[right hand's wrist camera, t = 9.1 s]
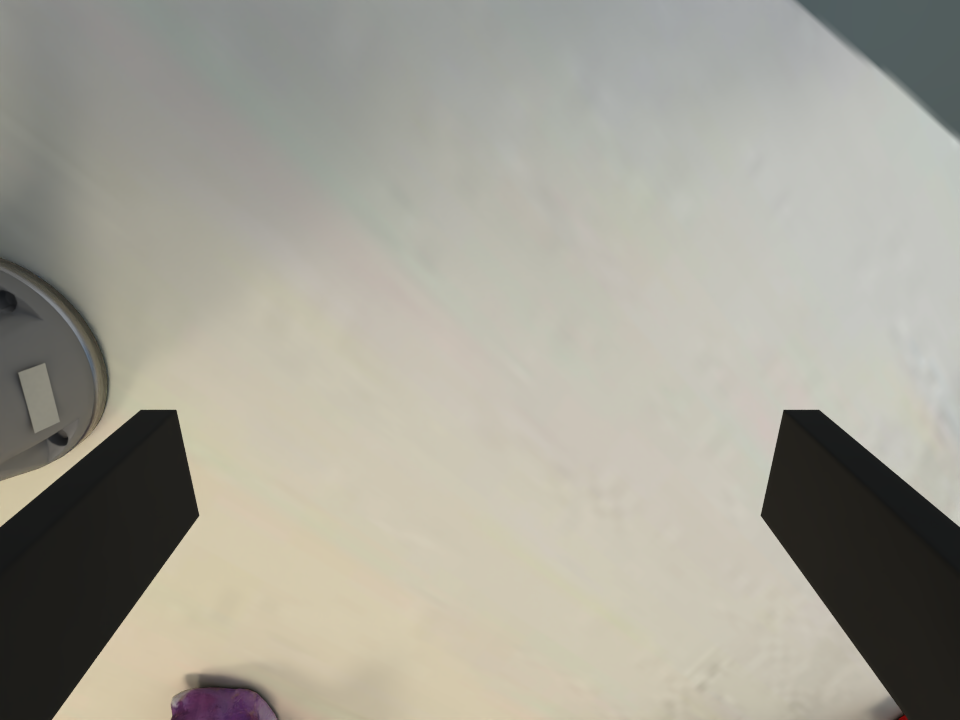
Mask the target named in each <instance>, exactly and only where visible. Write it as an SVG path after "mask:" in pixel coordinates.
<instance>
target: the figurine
mask: <svg viewBox="0 0 960 720" xmlns="http://www.w3.org/2000/svg"><path fill="white" fill-rule="evenodd" d="M171 709H172V719H171V720H277V718H276V715H275V714H274V712H273V711H272V709H271V708H270V707H269V705H268V704H267V703H266V702H265V701H264V700H263V698H261V697H260V695H258V694H257V693H256V692H253V691H251V690H250V689H240V688H239V689H229V688H216V687H210V688H193V689H189V690H186V691H183V692H180V693H179V694H177V695H175V696H174V697H173V699H172V701H171Z"/></svg>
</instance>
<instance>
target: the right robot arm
mask: <svg viewBox="0 0 960 720" xmlns="http://www.w3.org/2000/svg"><path fill="white" fill-rule="evenodd" d="M106 398H107V374H106V368H105V364H104V360H103V357H102V354H101V351H100V348H99V346H98V344H97V342H96V340H95V338H94V336H93V334H92V332H91V330H90V329H89V327H88V325H87V324H86V322H85V321H84V320H83V318H82V317H81V316H80V314H79V313H78V312H77V311H76V309H75V308H74V307H73V306H72V305H71V304H70V303H69V302H68V301H67V300H66V299H65V298H64V297H63V296H62V295H61V294H60V293H59V292H58V291H57V290H55V289H54V288H53V287H52V286H51V285H49V284H48V283H47V282H45V281H44V280H42V279H41V278H39V277H38V276H36V275H35V274H33V273H32V272H30V271H28V270H26V269H24V268H22V267H21V266H19V265H16V264H14V263H12V262H10V261H7V260H5V259H2V258H0V481H2V480H5V479H8V478H11V477H14V476H17V475H20V474H23V473H27V472H30V471H33V470H36V469H39V468H41V467H43V466H45V465H47V464H49V463H51V462H53V461H55V460H57V459H59V458H61V457H62V456H64V455H65V454H67V453H68V452H69V451H71V450H72V449H73V448H75V447H76V446H77V445H78V444H80V443H81V442H82V441H83V440H84V439H85V438H87V437H88V436H89V435H90V433H91V432H92V431H93V430H94V428H95V427H96V425H97V424H98V422H99V420H100V418H101V416H102V413H103V410H104V407H105V404H106ZM198 517H199V512H198V508H197V503H196V499H195V494H194V489H193V485H192V480H191V475H190V471H189V466H188V462H187V457H186V452H185V448H184V443H183V438H182V434H181V429H180V425H179V420H178V415H177V411H176V410H140V411H139V412H138V413H137V414H135V415H134V416H133V417H132V418H131V419H129V420H128V421H127V422H126V423H125V424H123V425H122V426H121V427H120V428H119V429H117V430H116V431H115V432H114V433H113V434H111V435H110V436H109V437H108V438H107V439H105V440H104V441H103V442H102V443H101V444H99V445H98V446H97V447H96V448H95V449H93V450H92V451H91V452H90V453H89V454H87V455H86V456H85V457H84V458H83V459H81V460H80V461H79V462H78V463H77V464H75V465H74V466H73V467H72V468H71V469H69V470H68V471H67V472H66V473H65V474H63V475H62V476H61V477H60V478H59V479H58V480H56V481H55V482H54V483H53V484H52V485H50V486H49V487H48V488H47V489H46V490H44V491H43V492H42V493H41V494H40V495H38V496H37V497H36V498H35V499H34V500H32V501H31V502H30V503H29V504H28V505H26V506H25V507H24V508H23V509H22V510H20V511H19V512H18V513H17V514H16V515H14V516H13V517H12V518H11V519H10V520H8V521H7V522H6V523H5V524H4V525H2V526H1V527H0V720H52V719H53V717H54V716H55V715H56V713H57V712H58V710H59V709H60V708H61V706H62V705H63V704H64V702H65V701H66V699H67V698H68V697H69V695H70V694H71V692H72V691H73V690H74V688H75V687H76V686H77V684H78V683H79V681H80V680H81V679H82V677H83V676H84V674H85V673H86V672H87V670H88V669H89V668H90V666H91V665H92V663H93V662H94V661H95V659H96V658H97V656H98V655H99V654H100V652H101V651H102V650H103V648H104V647H105V645H106V644H107V643H108V641H109V640H110V638H111V637H112V636H113V634H114V633H115V632H116V630H117V629H118V627H119V626H120V625H121V623H122V622H123V620H124V619H125V618H126V616H127V615H128V614H129V612H130V611H131V609H132V608H133V607H134V605H135V604H136V602H137V601H138V600H139V598H140V597H141V596H142V594H143V593H144V591H145V590H146V589H147V587H148V586H149V584H150V583H151V582H152V580H153V579H154V578H155V576H156V575H157V573H158V572H159V571H160V569H161V568H162V566H163V565H164V564H165V562H166V561H167V560H168V558H169V557H170V555H171V554H172V553H173V551H174V550H175V548H176V547H177V546H178V544H179V543H180V542H181V540H182V539H183V537H184V536H185V535H186V533H187V532H188V530H189V529H190V528H191V526H192V525H193V524H194V522H195V521H196V519H197V518H198ZM761 517H762V518H763V519H764V521H765V522H766V524H767V525H768V526H769V528H770V529H771V530H772V532H773V533H774V535H775V536H776V537H777V539H778V540H779V542H780V543H781V544H782V546H783V547H784V548H785V550H786V551H787V553H788V554H789V555H790V557H791V558H792V560H793V561H794V562H795V564H796V565H797V566H798V568H799V569H800V571H801V572H802V573H803V575H804V576H805V578H806V579H807V580H808V582H809V583H810V584H811V586H812V587H813V589H814V590H815V591H816V593H817V594H818V596H819V597H820V598H821V600H822V601H823V602H824V604H825V605H826V607H827V608H828V609H829V611H830V612H831V614H832V615H833V616H834V618H835V619H836V620H837V622H838V623H839V625H840V626H841V627H842V629H843V630H844V632H845V633H846V634H847V636H848V637H849V638H850V640H851V641H852V643H853V644H854V645H855V647H856V648H857V650H858V651H859V652H860V654H861V655H862V656H863V658H864V659H865V661H866V662H867V663H868V665H869V666H870V668H871V669H872V670H873V672H874V673H875V674H876V676H877V677H878V679H879V680H880V681H881V683H882V684H883V686H884V687H885V688H886V690H887V691H888V692H889V694H890V695H891V697H892V698H893V699H894V701H895V702H896V704H897V705H898V706H899V708H900V709H901V710H902V712H903V713H904V715H905V716H906V717H907V719H908V720H960V527H959V526H958V525H956V524H955V523H954V522H953V521H952V520H950V519H949V518H948V517H947V516H946V515H944V514H943V513H942V512H941V511H940V510H938V509H937V508H936V507H935V506H934V505H932V504H931V503H930V502H929V501H928V500H926V499H925V498H924V497H923V496H922V495H920V494H919V493H918V492H917V491H916V490H914V489H913V488H912V487H911V486H910V485H908V484H907V483H906V482H905V481H904V480H902V479H901V478H900V477H899V476H898V475H897V474H895V473H894V472H893V471H892V470H891V469H889V468H888V467H887V466H886V465H885V464H883V463H882V462H881V461H880V460H879V459H877V458H876V457H875V456H874V455H873V454H871V453H870V452H869V451H868V450H867V449H865V448H864V447H863V446H862V445H861V444H859V443H858V442H857V441H856V440H855V439H853V438H852V437H851V436H850V435H849V434H847V433H846V432H845V431H844V430H843V429H841V428H840V427H839V426H838V425H837V424H835V423H834V422H833V421H832V420H831V419H829V418H828V417H827V416H826V415H825V414H823V413H822V412H821V411H820V410H784V411H783V415H782V420H781V425H780V429H779V434H778V438H777V443H776V448H775V452H774V457H773V462H772V466H771V471H770V475H769V480H768V485H767V489H766V494H765V499H764V503H763V508H762V512H761Z"/></svg>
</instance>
